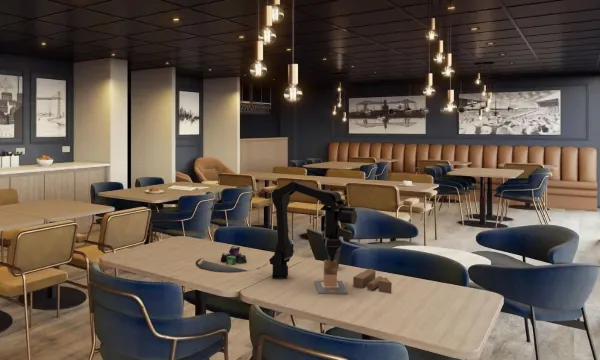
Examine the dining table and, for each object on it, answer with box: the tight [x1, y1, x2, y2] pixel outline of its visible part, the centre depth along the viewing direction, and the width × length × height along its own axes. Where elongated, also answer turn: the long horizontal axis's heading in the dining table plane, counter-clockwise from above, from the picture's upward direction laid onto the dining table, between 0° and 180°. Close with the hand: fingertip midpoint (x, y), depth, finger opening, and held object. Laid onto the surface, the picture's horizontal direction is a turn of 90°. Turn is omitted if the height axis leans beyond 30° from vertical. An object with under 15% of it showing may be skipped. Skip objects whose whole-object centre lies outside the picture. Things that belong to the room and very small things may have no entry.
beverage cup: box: [327, 246, 342, 270], centre depth 241 cm, size 7×7×20 cm
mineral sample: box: [195, 245, 268, 273], centre depth 249 cm, size 35×35×9 cm
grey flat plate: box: [314, 280, 349, 295], centre depth 212 cm, size 12×16×1 cm
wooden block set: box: [352, 268, 393, 294], centre depth 217 cm, size 17×6×18 cm
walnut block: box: [323, 259, 338, 276], centre depth 213 cm, size 5×5×5 cm
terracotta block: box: [322, 272, 338, 286], centre depth 214 cm, size 5×5×5 cm
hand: (330, 258), depth 213 cm, fingers open, 9 cm apart
